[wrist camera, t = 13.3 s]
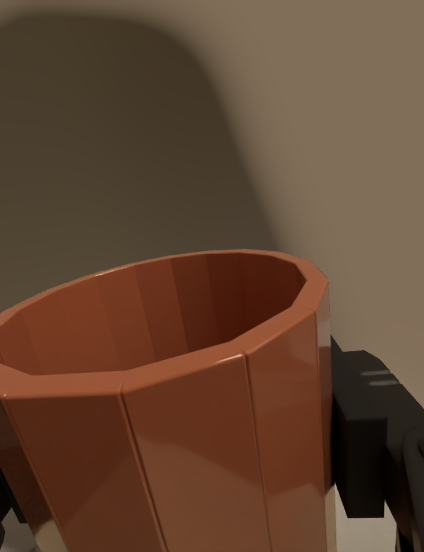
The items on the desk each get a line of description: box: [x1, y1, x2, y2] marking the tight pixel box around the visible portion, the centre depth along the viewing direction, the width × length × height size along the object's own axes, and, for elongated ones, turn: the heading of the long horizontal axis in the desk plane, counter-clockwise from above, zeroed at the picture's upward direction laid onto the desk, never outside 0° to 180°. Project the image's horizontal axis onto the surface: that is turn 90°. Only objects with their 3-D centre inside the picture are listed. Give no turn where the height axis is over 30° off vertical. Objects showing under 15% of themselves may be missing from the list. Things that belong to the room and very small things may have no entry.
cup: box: [0, 249, 337, 552], centre depth 8 cm, size 7×7×10 cm
